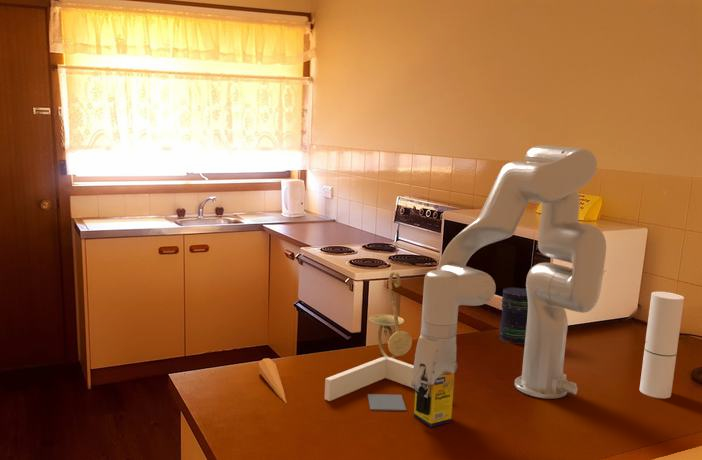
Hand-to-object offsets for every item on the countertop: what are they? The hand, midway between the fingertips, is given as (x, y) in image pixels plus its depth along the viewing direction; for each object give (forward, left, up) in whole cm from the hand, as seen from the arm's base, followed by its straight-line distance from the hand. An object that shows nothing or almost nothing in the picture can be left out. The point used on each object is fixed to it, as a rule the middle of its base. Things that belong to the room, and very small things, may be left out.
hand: (433, 406), depth 139 cm
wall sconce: (+29, -21, -3) cm, 36 cm away
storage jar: (+14, -65, -3) cm, 67 cm away
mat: (+12, +1, -3) cm, 12 cm away
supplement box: (0, 0, -3) cm, 3 cm away
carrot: (+36, +14, -3) cm, 39 cm away
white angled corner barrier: (+14, -1, -3) cm, 14 cm away
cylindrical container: (-30, -54, -3) cm, 62 cm away
